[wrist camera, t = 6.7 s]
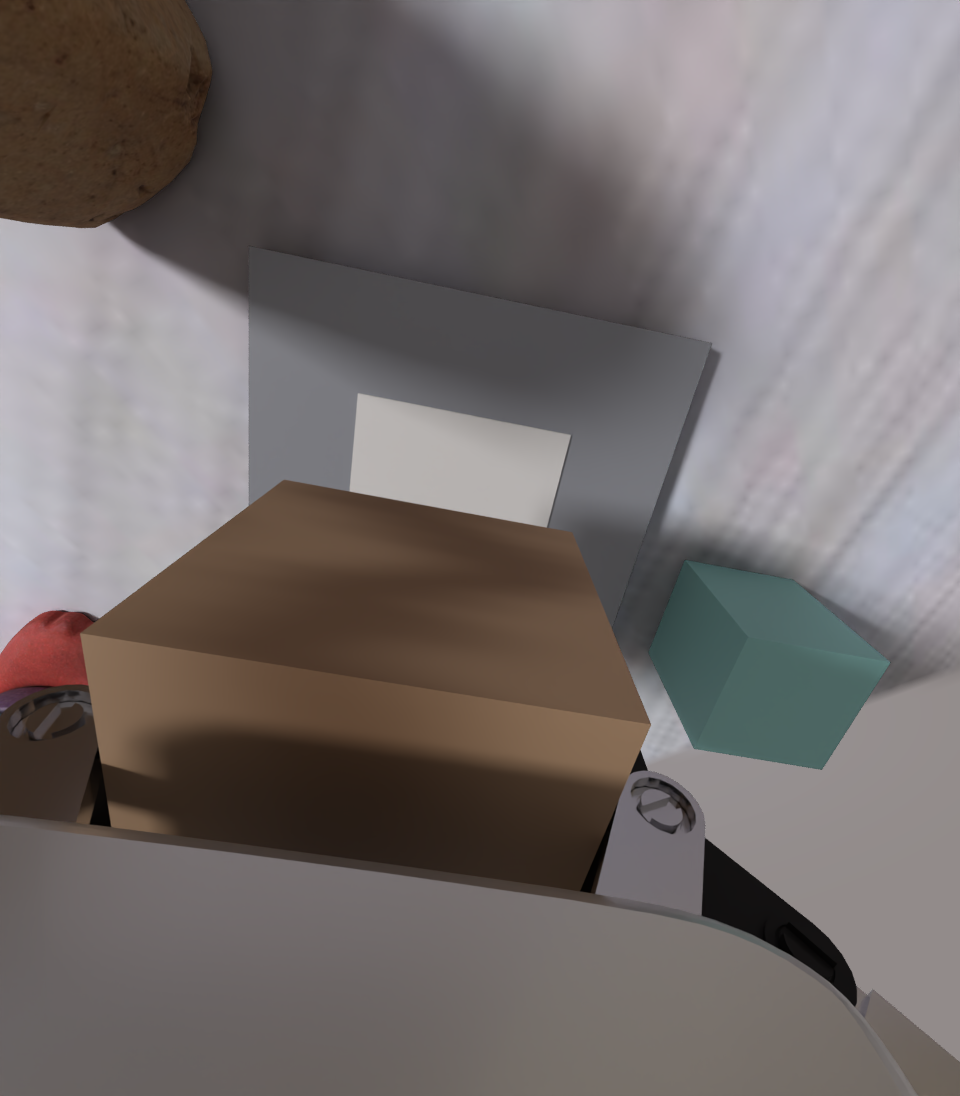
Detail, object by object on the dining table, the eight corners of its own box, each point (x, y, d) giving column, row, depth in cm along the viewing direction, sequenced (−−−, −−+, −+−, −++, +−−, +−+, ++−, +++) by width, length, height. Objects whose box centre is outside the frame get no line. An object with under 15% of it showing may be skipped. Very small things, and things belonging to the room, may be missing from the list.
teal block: (792, 579, 22) (890, 662, 17) (747, 669, 24) (821, 769, 19) (684, 559, 22) (748, 636, 16) (648, 652, 24) (693, 748, 19)
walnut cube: (572, 532, 11) (650, 724, 6) (511, 744, 14) (527, 1014, 8) (284, 479, 11) (80, 633, 5) (276, 707, 14) (133, 966, 8)
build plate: (701, 342, 18) (713, 343, 17) (583, 685, 25) (587, 701, 24) (261, 249, 17) (247, 245, 16) (258, 630, 24) (247, 644, 23)
